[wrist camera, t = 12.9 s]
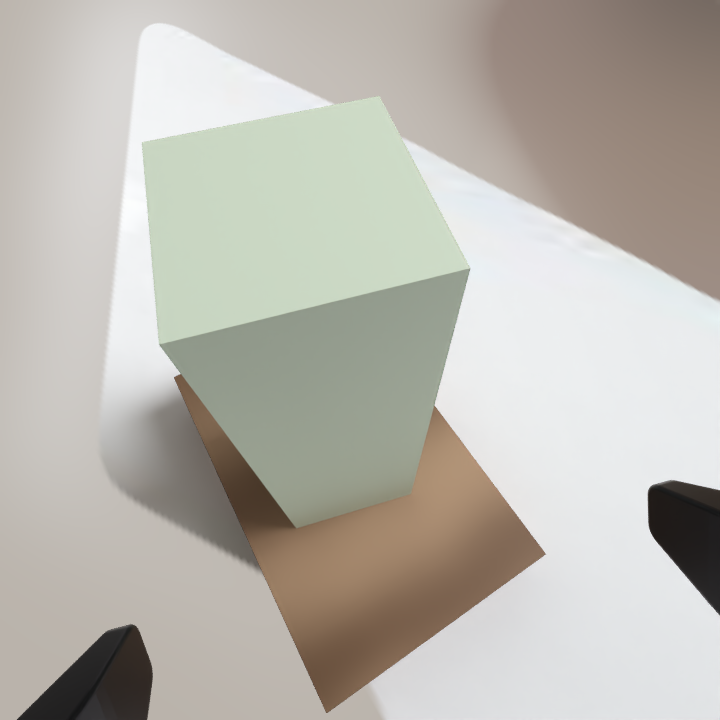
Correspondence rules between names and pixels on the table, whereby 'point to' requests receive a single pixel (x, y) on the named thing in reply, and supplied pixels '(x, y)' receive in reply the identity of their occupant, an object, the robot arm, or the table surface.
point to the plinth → (376, 557)
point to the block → (306, 297)
